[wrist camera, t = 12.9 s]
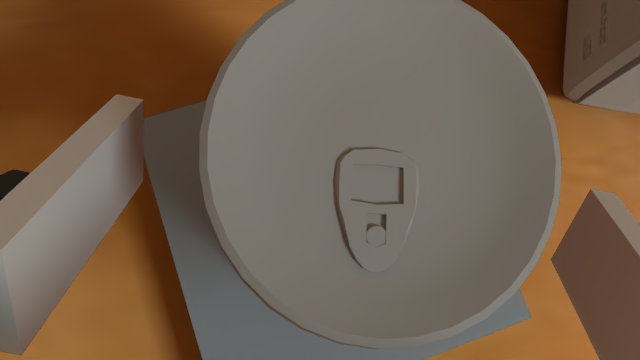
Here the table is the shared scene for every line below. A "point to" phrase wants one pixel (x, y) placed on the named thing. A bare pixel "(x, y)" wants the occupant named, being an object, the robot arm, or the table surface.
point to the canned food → (379, 167)
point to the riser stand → (224, 283)
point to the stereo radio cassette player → (603, 54)
